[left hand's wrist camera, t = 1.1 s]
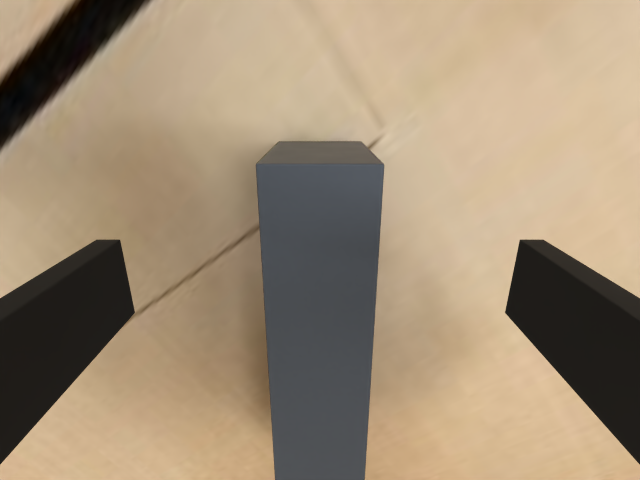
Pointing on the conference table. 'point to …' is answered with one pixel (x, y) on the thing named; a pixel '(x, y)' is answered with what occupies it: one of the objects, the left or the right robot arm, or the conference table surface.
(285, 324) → the bar
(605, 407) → the left robot arm
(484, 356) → the conference table surface
